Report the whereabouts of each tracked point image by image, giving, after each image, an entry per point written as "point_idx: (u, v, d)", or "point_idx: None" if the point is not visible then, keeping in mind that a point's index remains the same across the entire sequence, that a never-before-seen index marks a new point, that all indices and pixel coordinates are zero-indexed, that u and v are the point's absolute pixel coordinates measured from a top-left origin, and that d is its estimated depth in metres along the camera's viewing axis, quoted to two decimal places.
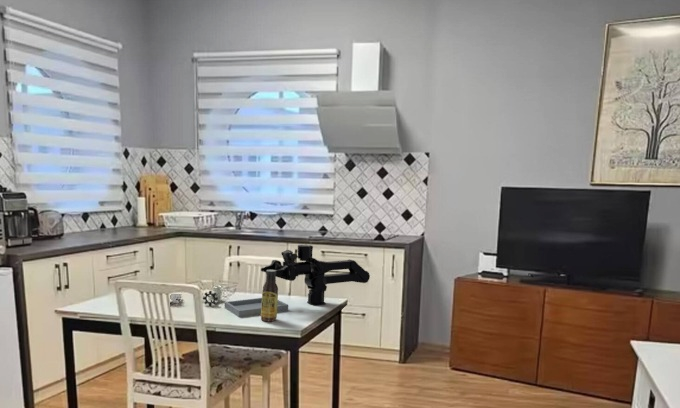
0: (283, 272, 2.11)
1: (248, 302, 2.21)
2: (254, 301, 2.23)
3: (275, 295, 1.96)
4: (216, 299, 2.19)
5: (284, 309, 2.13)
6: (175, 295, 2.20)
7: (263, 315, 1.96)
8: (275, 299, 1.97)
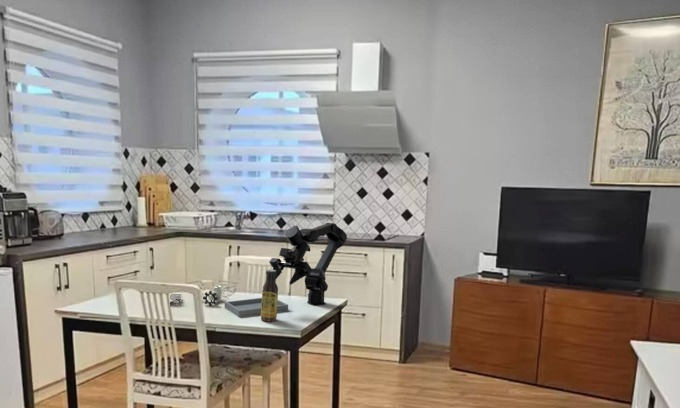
0: (298, 272, 2.05)
1: (248, 302, 2.21)
2: (254, 301, 2.23)
3: (275, 295, 1.96)
4: (216, 299, 2.19)
5: (284, 309, 2.13)
6: (175, 295, 2.20)
7: (263, 315, 1.96)
8: (275, 299, 1.97)
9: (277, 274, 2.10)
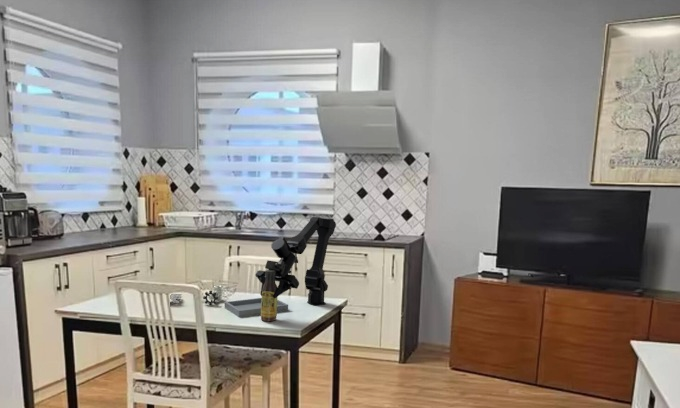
0: (282, 285, 1.98)
1: (248, 302, 2.21)
2: (254, 301, 2.23)
3: None
4: (216, 299, 2.19)
5: (284, 309, 2.13)
6: (175, 295, 2.20)
7: (263, 315, 1.96)
8: (275, 299, 1.97)
9: None
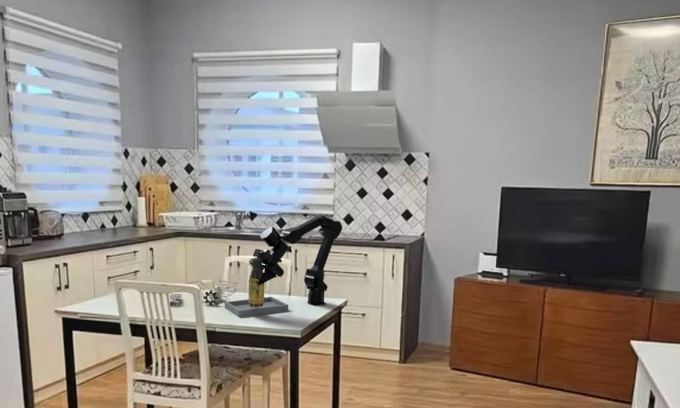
0: (268, 273, 2.04)
1: (248, 302, 2.21)
2: None
3: None
4: (217, 298, 2.20)
5: (284, 309, 2.13)
6: (175, 295, 2.20)
7: (249, 301, 2.04)
8: (260, 286, 2.03)
9: None
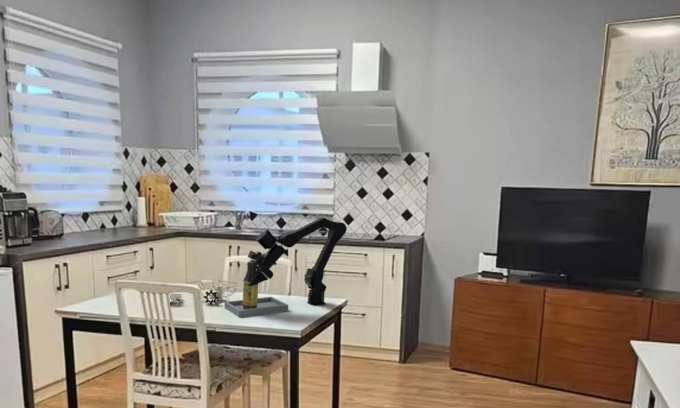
0: (260, 275, 2.09)
1: None
2: None
3: None
4: (217, 298, 2.20)
5: (284, 309, 2.13)
6: (175, 295, 2.20)
7: None
8: (252, 289, 2.10)
9: None
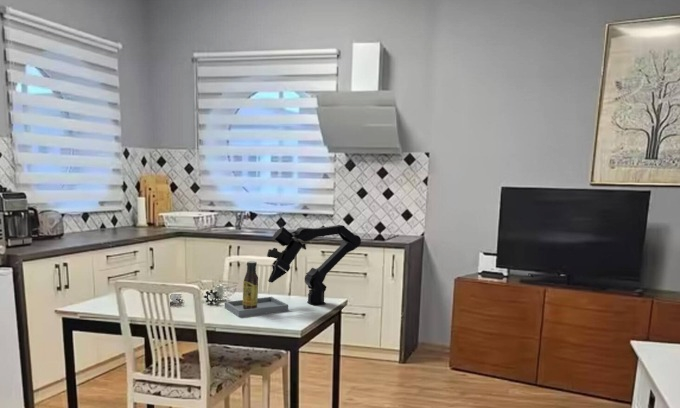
0: (278, 270, 2.13)
1: None
2: None
3: (252, 285, 2.10)
4: (217, 298, 2.21)
5: (284, 309, 2.13)
6: (175, 295, 2.20)
7: None
8: (252, 289, 2.10)
9: None
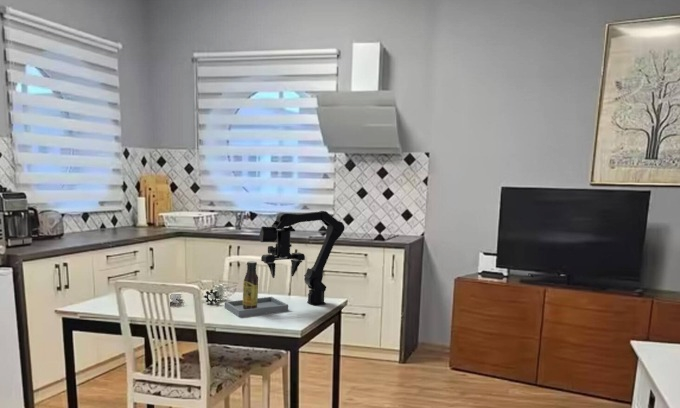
0: (271, 264, 2.17)
1: None
2: None
3: (252, 285, 2.10)
4: (217, 297, 2.21)
5: (284, 309, 2.13)
6: (175, 295, 2.20)
7: None
8: (252, 289, 2.10)
9: (293, 267, 2.22)
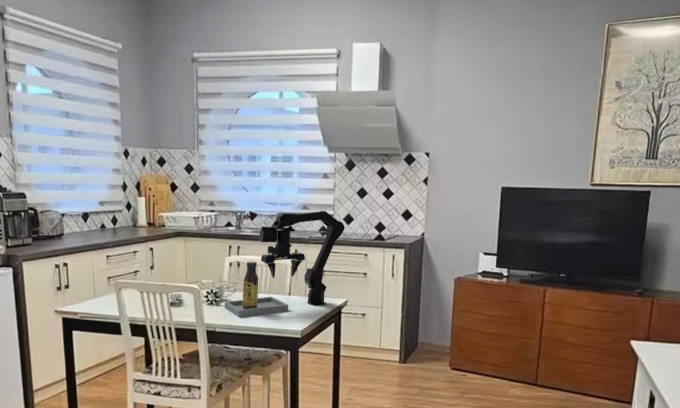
0: (271, 265, 2.17)
1: None
2: None
3: (252, 285, 2.10)
4: (217, 297, 2.22)
5: (284, 309, 2.13)
6: (175, 295, 2.20)
7: None
8: (252, 289, 2.10)
9: (293, 267, 2.22)
